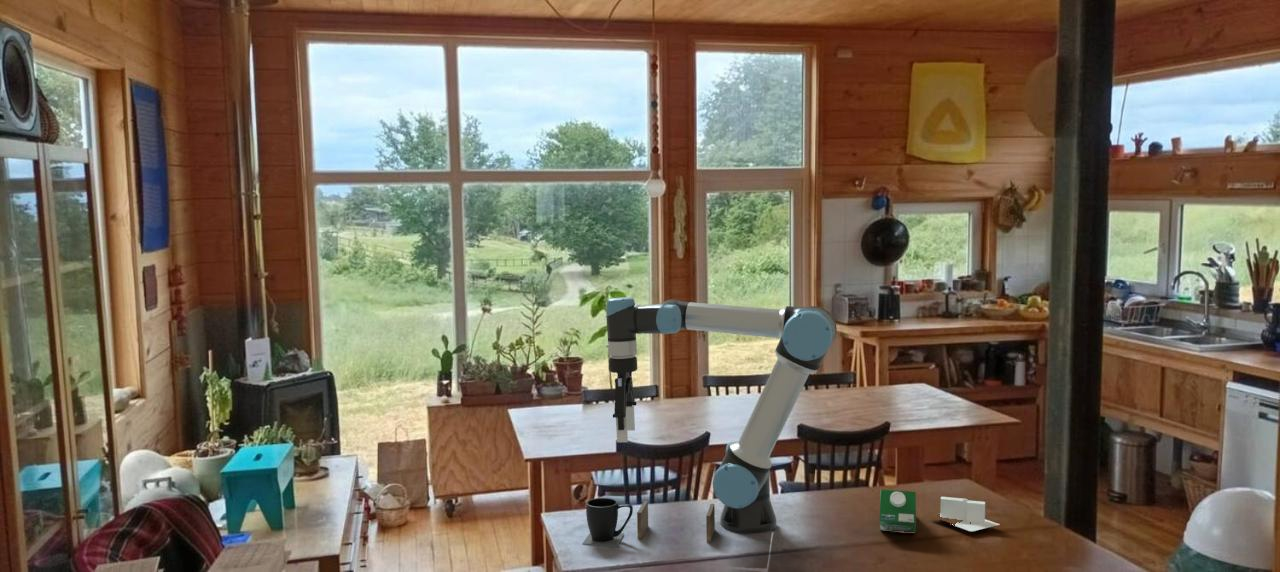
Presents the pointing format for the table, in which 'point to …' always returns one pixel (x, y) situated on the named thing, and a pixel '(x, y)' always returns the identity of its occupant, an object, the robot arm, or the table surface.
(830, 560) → the table surface
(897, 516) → the milk carton
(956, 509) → the napkin holder
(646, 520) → the rack
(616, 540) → the coaster
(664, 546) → the table surface
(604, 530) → the mug
